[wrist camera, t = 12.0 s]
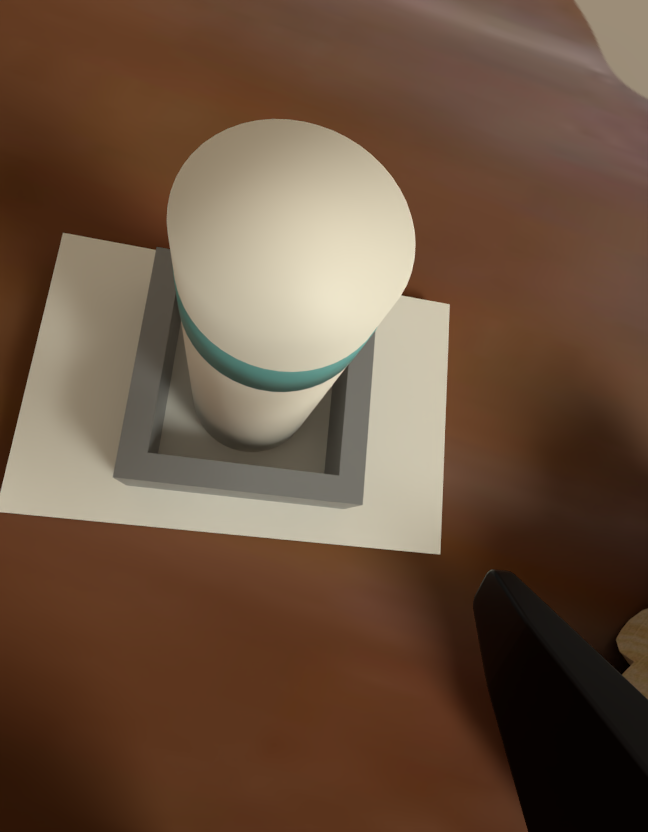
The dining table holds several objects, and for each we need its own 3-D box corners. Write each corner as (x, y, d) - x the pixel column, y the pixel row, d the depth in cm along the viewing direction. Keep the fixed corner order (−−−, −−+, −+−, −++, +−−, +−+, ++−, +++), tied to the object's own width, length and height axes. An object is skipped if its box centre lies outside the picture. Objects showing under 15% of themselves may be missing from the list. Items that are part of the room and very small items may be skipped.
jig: (429, 553, 24) (472, 557, 20) (7, 512, 21) (-42, 507, 17) (439, 314, 27) (478, 275, 23) (70, 247, 24) (41, 189, 20)
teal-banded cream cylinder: (223, 472, 22) (236, 387, 9) (172, 367, 22) (122, 156, 10) (328, 422, 23) (458, 291, 11) (278, 324, 24) (347, 93, 11)
